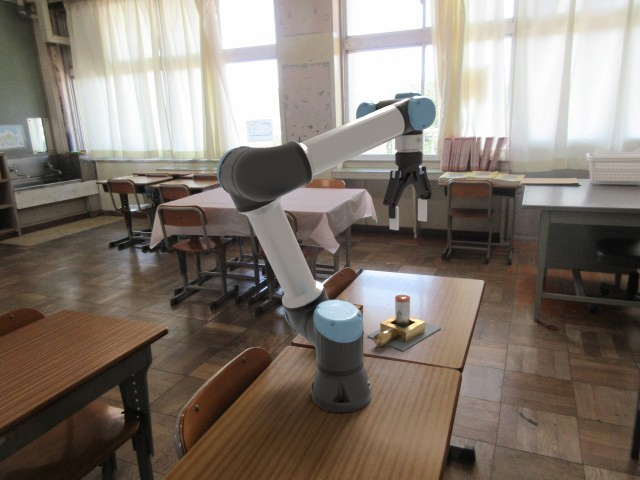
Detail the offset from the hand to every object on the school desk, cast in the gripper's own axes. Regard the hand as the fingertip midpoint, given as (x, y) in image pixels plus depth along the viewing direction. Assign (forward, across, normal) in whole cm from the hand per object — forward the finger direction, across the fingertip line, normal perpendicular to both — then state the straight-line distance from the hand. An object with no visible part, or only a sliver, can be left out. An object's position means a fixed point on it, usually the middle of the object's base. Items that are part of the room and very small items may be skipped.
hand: (408, 225), depth 129 cm
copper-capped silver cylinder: (+36, +2, +4) cm, 36 cm away
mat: (+37, +3, +4) cm, 37 cm away
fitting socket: (+36, -1, +4) cm, 37 cm away
